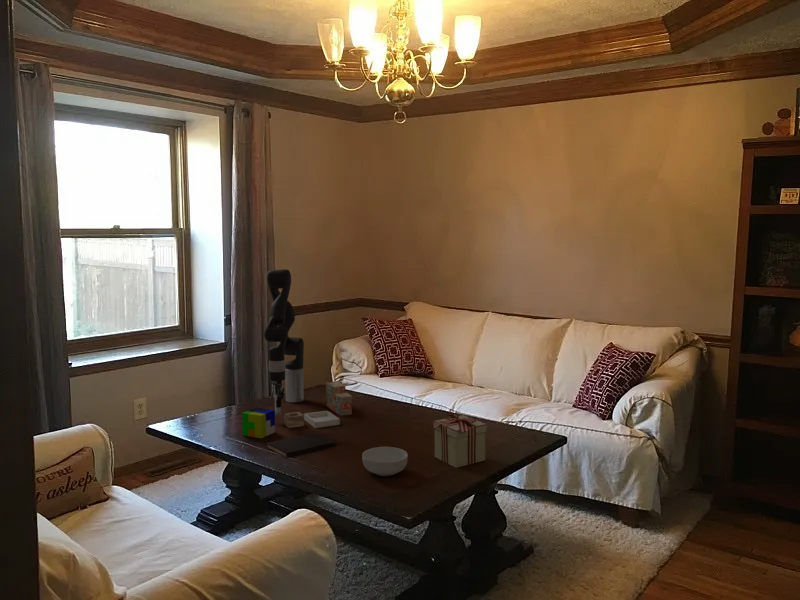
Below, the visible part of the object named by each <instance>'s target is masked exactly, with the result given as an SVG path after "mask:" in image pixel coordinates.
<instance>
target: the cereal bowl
mask: <svg viewBox="0 0 800 600" xmlns="http://www.w3.org/2000/svg"><path fill="white" fill-rule="evenodd" d="M361 454H362V455H361V459H362V464H363V466H364V468H365V469H366V470H367V471H368V472H370V473H373V474H375V475H377V476H380V477H390V476H393V475H395V474H398V473H400V472H401V471H403V470H404V469H405V468H406V466H407V465H408V461H409V454H408V451H406V450H405V449H401V448H399V447H394V446H378V447H377V446H376V447H371V448H369V449H365V451H363V452H362V453H361Z"/></svg>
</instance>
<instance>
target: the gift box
mask: <svg viewBox="0 0 800 600" xmlns="http://www.w3.org/2000/svg"><path fill="white" fill-rule="evenodd" d="M445 415H446V418H442V419H437V420H434V421H433V430H434V458H435V459H437V460H440V461H441V462H443V463H445V464H448V465H449V466H451V467H454V468H456V469H458V468H460V467H461V468H462V467H464V466H469V465H473V464H477V463H482V462H484V461H485V462H486V433H487V424H486V423H485V422H482V421H480V420H477V419H475V418H471V417H469V416H466V415H464V414H461V415H457V414H454V413H448V412H447V413H446V414H445ZM447 416H449V417H447Z"/></svg>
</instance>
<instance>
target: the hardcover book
mask: <svg viewBox="0 0 800 600" xmlns="http://www.w3.org/2000/svg"><path fill="white" fill-rule="evenodd" d="M266 445H267V448H268V449H270V450H272V451H274V452H276V453H277V454H280V455H281V456H284V457H285V458H290V457H294V456H298V455H302V454H306V453H307V454H308V453H310V452H314V451H315V452H316V451H319V450H323V449H328V448H331V447H335V446H336V442H335V440H332V439H330V438H327V437H325V436H324V435H321V434H318V433H316V432H311V433H307V434H303V435H298V436H292V437H289V438H285V439H279V440H275V441H270V442H267V443H266Z"/></svg>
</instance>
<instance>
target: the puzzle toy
mask: <svg viewBox="0 0 800 600" xmlns="http://www.w3.org/2000/svg"><path fill="white" fill-rule="evenodd" d="M241 424H242V425H241V427H242V429H241V431H242V433H241V434H242V436H243V435H244V436H245V437H250V438H255V439H263V438H265V436H266V437H268V436H270V435H272V434H274V433H276V415H275V409H268V408H263V407H262V408H261V407H254V408H252V409H249V410H246V411H244V412H241Z"/></svg>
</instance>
